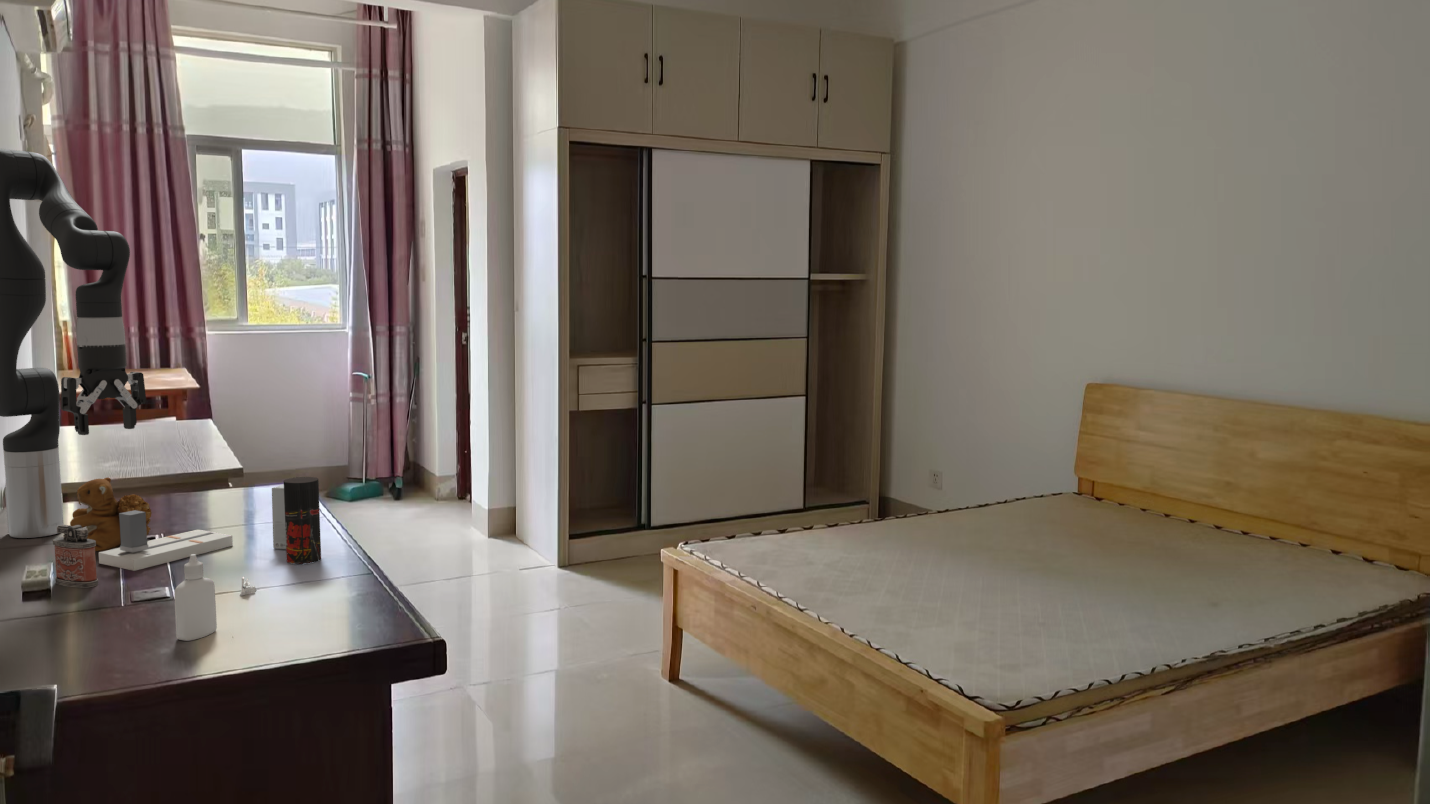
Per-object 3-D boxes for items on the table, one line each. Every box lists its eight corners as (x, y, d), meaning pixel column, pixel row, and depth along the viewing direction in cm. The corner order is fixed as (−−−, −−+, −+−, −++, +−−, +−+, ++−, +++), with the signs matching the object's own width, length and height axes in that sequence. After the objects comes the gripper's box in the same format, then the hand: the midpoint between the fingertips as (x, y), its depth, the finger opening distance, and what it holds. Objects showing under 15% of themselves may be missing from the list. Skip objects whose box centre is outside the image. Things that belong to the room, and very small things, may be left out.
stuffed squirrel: (80, 541, 202) (76, 475, 201) (160, 536, 206) (157, 471, 205) (65, 554, 193) (61, 485, 191) (150, 549, 197) (146, 481, 196)
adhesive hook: (239, 594, 171) (239, 575, 171) (257, 592, 172) (256, 574, 172) (239, 599, 168) (238, 580, 168) (256, 597, 169) (256, 579, 169)
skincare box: (292, 550, 197) (290, 488, 195) (272, 549, 198) (270, 487, 196) (311, 542, 203) (309, 482, 201) (291, 541, 204) (289, 481, 202)
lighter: (103, 583, 175) (100, 525, 173) (85, 588, 171) (82, 530, 170) (68, 578, 177) (64, 521, 176) (50, 583, 174) (46, 525, 173)
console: (99, 563, 187) (98, 551, 186) (198, 539, 204) (197, 528, 204) (134, 570, 182) (133, 559, 182) (232, 545, 200) (232, 534, 200)
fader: (120, 550, 187) (118, 513, 186) (136, 546, 189) (133, 510, 188) (132, 552, 185) (130, 515, 184) (148, 548, 188) (146, 512, 187)
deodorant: (280, 559, 190) (277, 479, 188) (312, 553, 194) (309, 475, 193) (295, 566, 186) (292, 484, 184) (327, 559, 190) (324, 480, 189)
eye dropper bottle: (172, 635, 150) (168, 554, 148) (213, 627, 153) (210, 548, 152) (179, 643, 146) (175, 561, 145) (221, 635, 150) (218, 554, 149)
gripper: (126, 340, 194) (131, 425, 195) (48, 343, 181) (54, 435, 183) (151, 341, 190) (156, 428, 192) (74, 345, 178) (80, 438, 179)
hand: (106, 431), depth 187 cm, fingers open, 8 cm apart
